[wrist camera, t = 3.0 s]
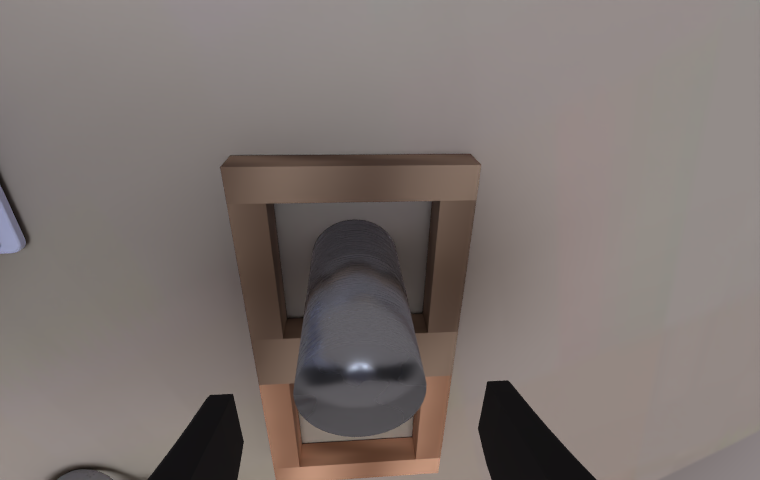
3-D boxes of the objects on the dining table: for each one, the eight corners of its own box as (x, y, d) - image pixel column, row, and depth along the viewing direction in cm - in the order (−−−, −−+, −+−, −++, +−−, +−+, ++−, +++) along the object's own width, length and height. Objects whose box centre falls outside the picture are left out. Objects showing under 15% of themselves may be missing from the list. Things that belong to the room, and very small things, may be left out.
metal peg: (314, 293, 20) (299, 440, 13) (309, 220, 18) (287, 346, 11) (395, 290, 20) (422, 433, 13) (397, 218, 18) (431, 340, 11)
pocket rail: (280, 460, 26) (276, 483, 24) (230, 155, 16) (220, 167, 15) (433, 450, 27) (438, 472, 25) (470, 154, 17) (481, 164, 16)
